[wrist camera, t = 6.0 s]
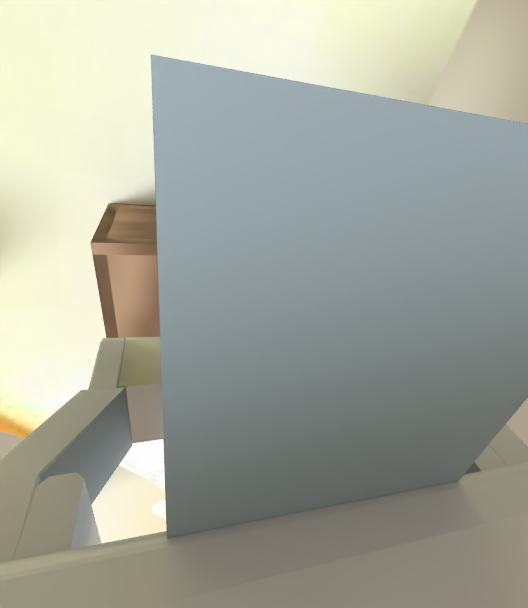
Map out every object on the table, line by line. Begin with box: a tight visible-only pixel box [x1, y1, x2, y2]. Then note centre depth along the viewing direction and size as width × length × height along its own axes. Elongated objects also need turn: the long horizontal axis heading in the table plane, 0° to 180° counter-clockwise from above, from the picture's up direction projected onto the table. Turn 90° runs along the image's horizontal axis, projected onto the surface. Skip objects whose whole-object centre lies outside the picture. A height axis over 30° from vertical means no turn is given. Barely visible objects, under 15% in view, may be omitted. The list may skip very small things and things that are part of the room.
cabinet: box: [91, 204, 160, 338], centre depth 29 cm, size 18×17×8 cm
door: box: [151, 55, 528, 538], centre depth 8 cm, size 5×12×8 cm, turn 171°
